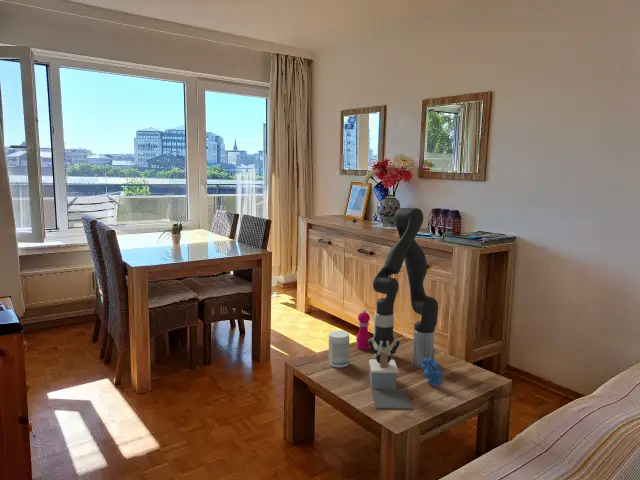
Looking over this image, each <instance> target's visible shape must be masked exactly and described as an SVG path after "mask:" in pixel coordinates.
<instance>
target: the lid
mask: <svg viewBox="0 0 640 480" xmlns="http://www.w3.org/2000/svg"><path fill="white" fill-rule="evenodd" d="M368 365H369V370H370V369H371V373H396V374H399V370H398V366H397V363H396V361H395V359H390V362H389V363H388V354H387V351H386V350H381V351H380V363H378V362H377V359H375V358H374V359H373V358H372V359H368Z"/></svg>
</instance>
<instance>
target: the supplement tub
mask: <svg viewBox="0 0 640 480" xmlns="http://www.w3.org/2000/svg"><path fill="white" fill-rule="evenodd" d="M328 364H329V365H330V366H331V367H333V368H340V369H341V368H345V367H347V366H349V364H350V334H349V332H347V331H345V330H334V331H330V332H329V334H328Z"/></svg>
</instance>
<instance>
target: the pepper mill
mask: <svg viewBox="0 0 640 480" xmlns="http://www.w3.org/2000/svg"><path fill="white" fill-rule="evenodd" d="M370 319H371V316H370V314H369V313H367V310H366V309H363V310H362V312H360V313H359V314H358V315H357V320H358V321H359V322H358V325H359V331H358V333H357V335H356V339H355V340H356V342H357V343H356V348H357V350H360V349H361V351H366V350H369V349H370V345H369V343H368V339H371V336H370V333H369V325H370Z"/></svg>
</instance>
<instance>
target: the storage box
mask: <svg viewBox="0 0 640 480" xmlns="http://www.w3.org/2000/svg"><path fill="white" fill-rule="evenodd" d="M369 383H370V388H371V389H372V390H397V373H371V369H370V368H369Z"/></svg>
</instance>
